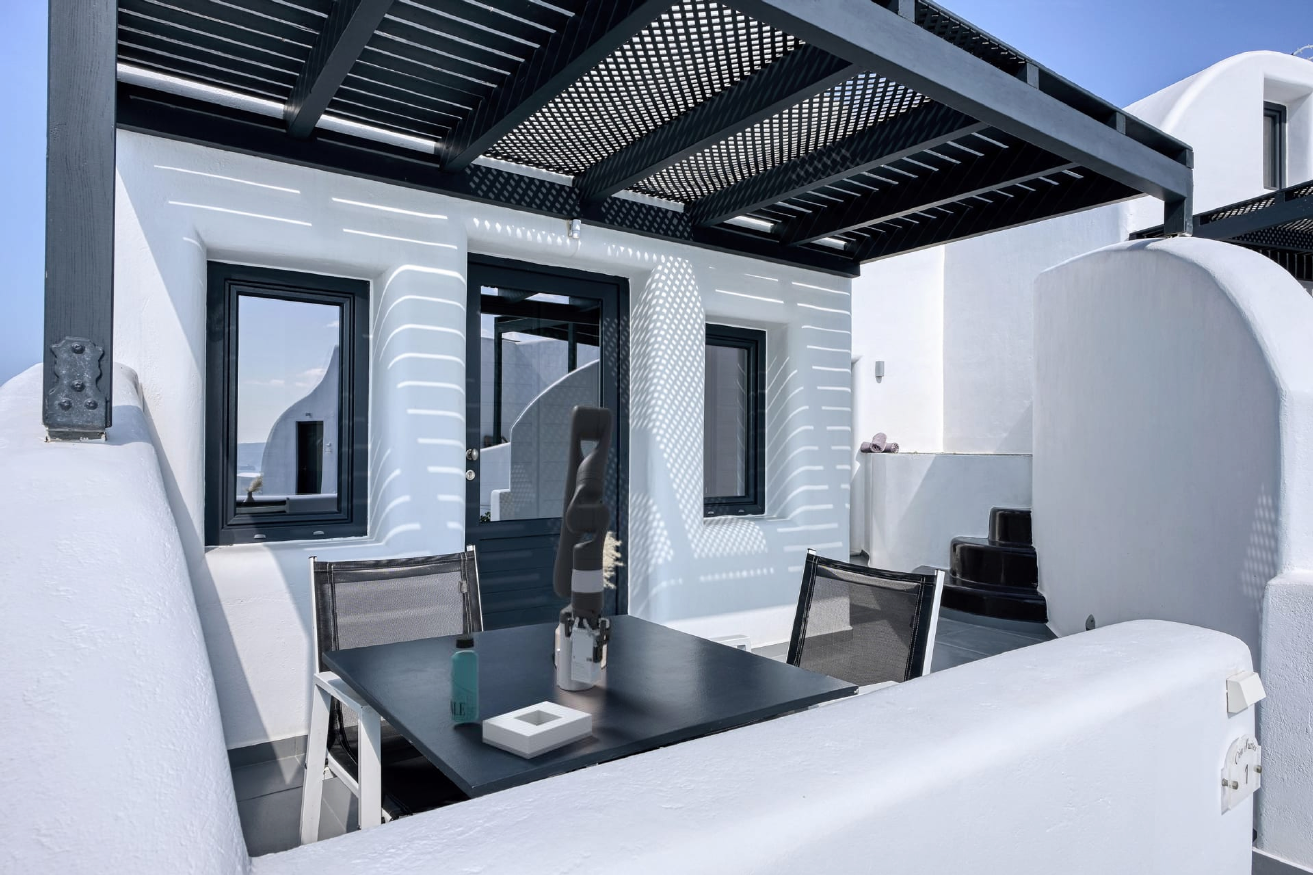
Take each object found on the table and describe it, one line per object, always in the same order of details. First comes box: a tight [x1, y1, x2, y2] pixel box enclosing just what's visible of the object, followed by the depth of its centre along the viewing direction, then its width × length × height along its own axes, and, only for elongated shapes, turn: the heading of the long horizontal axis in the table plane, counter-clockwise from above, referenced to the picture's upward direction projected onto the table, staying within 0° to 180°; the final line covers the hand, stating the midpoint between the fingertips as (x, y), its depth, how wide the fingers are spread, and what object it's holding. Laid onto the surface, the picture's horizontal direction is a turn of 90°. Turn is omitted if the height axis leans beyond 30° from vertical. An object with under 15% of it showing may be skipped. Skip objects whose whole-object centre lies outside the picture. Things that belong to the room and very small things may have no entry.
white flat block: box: [482, 700, 593, 760], centre depth 171 cm, size 15×18×4 cm
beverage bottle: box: [449, 635, 480, 724], centre depth 180 cm, size 6×7×20 cm
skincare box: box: [571, 628, 602, 684], centre depth 184 cm, size 6×4×12 cm
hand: (586, 659), depth 184 cm, fingers closed on skincare box, 6 cm apart
